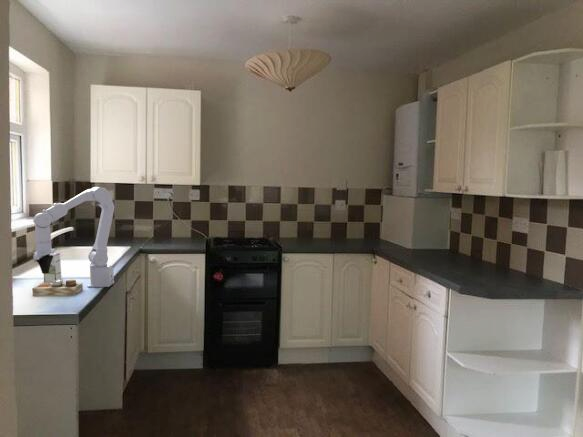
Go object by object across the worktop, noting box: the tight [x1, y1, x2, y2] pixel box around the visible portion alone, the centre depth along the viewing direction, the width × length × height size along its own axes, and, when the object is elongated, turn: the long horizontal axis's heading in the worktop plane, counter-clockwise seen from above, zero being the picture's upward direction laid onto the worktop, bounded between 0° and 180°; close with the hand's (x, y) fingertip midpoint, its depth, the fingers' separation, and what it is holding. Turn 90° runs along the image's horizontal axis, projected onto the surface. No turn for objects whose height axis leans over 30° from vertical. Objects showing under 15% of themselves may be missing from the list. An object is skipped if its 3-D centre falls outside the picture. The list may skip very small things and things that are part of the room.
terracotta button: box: [38, 282, 50, 287], centre depth 207 cm, size 4×4×2 cm
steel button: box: [52, 279, 64, 287], centre depth 207 cm, size 4×4×2 cm
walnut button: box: [65, 279, 77, 287], centre depth 207 cm, size 4×4×2 cm
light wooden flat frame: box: [31, 282, 84, 296], centre depth 207 cm, size 17×9×3 cm, turn 92°
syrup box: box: [43, 251, 63, 283], centre depth 221 cm, size 6×6×14 cm
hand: (45, 273), depth 206 cm, fingers closed
